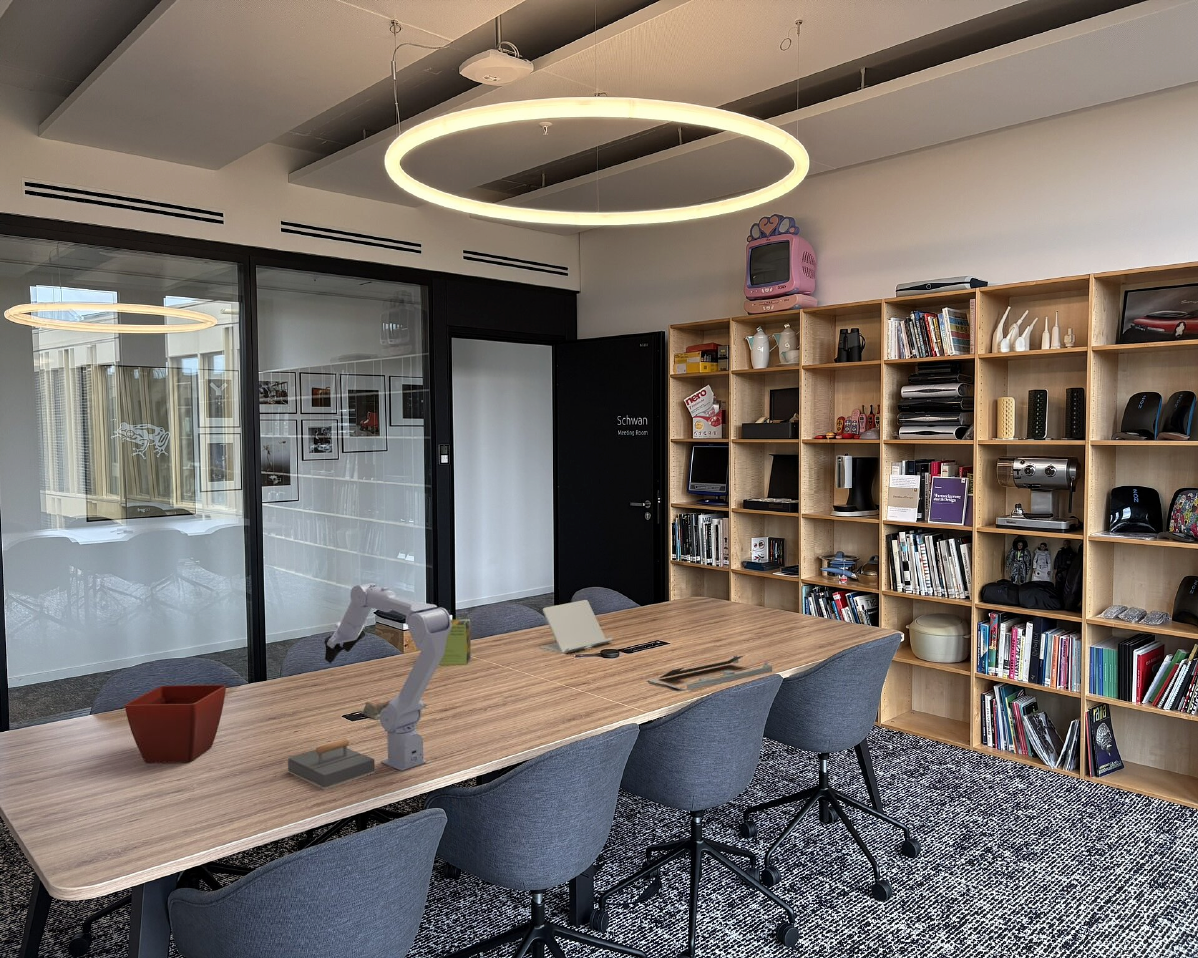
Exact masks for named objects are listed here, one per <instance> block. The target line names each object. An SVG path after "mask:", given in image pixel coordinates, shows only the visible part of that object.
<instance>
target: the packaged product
mask: <svg viewBox="0 0 1198 958" xmlns="http://www.w3.org/2000/svg"><path fill="white" fill-rule="evenodd" d="M398 695H399V694H396V695H391V696H387V697H382V698H378V699H372V700H368V701H366V702H365V706H364V707H363V710H360V715H363V714H364V715H363V716H365V717H367V718H370V717H371V718H370V719H372V720H375V721H380V720H379V719H380V713H381V711H382V709H383V708H385V707H387V705H388V703H389V702H390V701H392V700H393V699H394V698H395V697H397V696H398ZM422 703H423V705H424V706H423V708H422V709H425V708H427V703H425V702H422Z"/></svg>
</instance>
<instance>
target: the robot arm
mask: <svg viewBox="0 0 1198 958" xmlns="http://www.w3.org/2000/svg"><path fill="white" fill-rule="evenodd" d="M349 595H350V603H349V605H348V606H347V608H346V611H345V613H344V616H343V618H342V620H341V621H338V622H336V624H335V627H336V630H335V631H334V633H333V634H332V636H331V635H329V636H327V637H325V639H324V641H323V642H324V645H325V655H324V660H325V661H326V662H328V663H329V664H331V663H333V661H335V660H336V658H337V656H338V655H339V653H341V652H343V651H344V650H345V652H347V653H349V652H350V651H351V650H352V649H353V647H355V645H356V644H357V643H358V642H359V641H361V639H363V638H364V637H366V632H365V631H364V630H365V628H366V626H367V625H368V623H367V622H366V620H367V618H368V617H369V613H370V611H371V610H372V609H374V610H378V611H381V612H384V613H389V612H392V611H395V612H397V613H399V614H402V615H404V616H406V617H405V625H407V628H408V631H409V634H410V636H411V639H412V641H413V643H414V645H415V647H416V649H417V650H418V651H420V652H419V654H418V656H417V659H416V661H415V662H414V665H413V666H412V668H411V671H410V672H409V674H408V675H407V676H408V677H407V678H406V680H405V682H404V684H403V686H402V688H401V690H400V692H399V694H397V695H398V696H397V697H395V698H394V699H393V700H392V701H390V702H389V703H388V705H387V707H385V708H383V709H382V711H381V713H380V720H379V723H380V726H381V727H382V728H383V730H384V732H386V736H387V737H386V739H387V740H386V741H387V742H386V743H387V758H385V759H382V760H380V763H381V764H384V765H386V766H389V767H391V768H394V769H396V770H398V771H406V770H408V769H411V768H414V767H417V766H420V765H422V764H425V763H427V760H426V759H424V741H423V740H424V739H423V737H422V736H421V734H419V733H418V732H417V730H416V728H417V727H418V722H419V721H421V720H422V719H421V718H422V711H423V709H424V708H423V706H424V705H423V703H424V702H423V701H422V698H423V695H424V694H425V692H426V689H427V688H428V685H429V684H430V682H431V680H432V678H433V676H434V674H435V672H436V670H437V668H438V667H439V666H440V665H439V663H440V661H441V659H442V657H443V655H444V652H445V646H446V640H447V636H448V634H449V632H450V630H451V628H452V623H451V620H452V618H451V616H450V614H449V612H448V610H447V609H446V608H444V607H438V606H437V605H436V604H432V603H431V604H430V603H426V602H420V601H415V600H411V599H407V598H402V597H398V596H397V593H395V592H394V591H392V590H389V587H386V586H384V587H383V586H382V587H380V586H379V585H377V584H376V583H374V582H370V583H363V584H358V585H354V586H353V587H352V588H351V589H350V593H349ZM341 644H342V646H341Z"/></svg>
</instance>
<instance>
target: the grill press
mask: <svg viewBox="0 0 1198 958" xmlns="http://www.w3.org/2000/svg"><path fill="white" fill-rule="evenodd" d="M349 744H350V743H349V739H347V738H345V739H341V740H338V741H335V742H331V743H328V744H324V745H321V746H318V747H316V748H315V749H314V750H311V751H308V752H303V753H301V754H297V755H294V756H290V757H288V760H289V761H291V762H293V763H295V764H297V765H300V766H302V767H304V768H306V769H308V770H310V771H313V769H316V768H319V767H323V766H326V765H329V764H332V763H335V762H338V761H342V760H345V759H348V758H351V757H354V756H358V755H361V753H360V752H358V751H356V750H353V749H350V748H348V746H349ZM288 760H287V761H288Z"/></svg>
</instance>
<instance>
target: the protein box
mask: <svg viewBox="0 0 1198 958" xmlns="http://www.w3.org/2000/svg"><path fill="white" fill-rule="evenodd" d="M451 623H452V628H451V630H450V632H449V634H448V636H447V640H446V646H445V652H444V655H443V657H442V659H441V661H440V663H439V665H438V666H463V665H464V666H466V665H467V664H468V663H469V662H470V660H471V659H472V647H471V646H472V643H471V619H469V618H468V619H451Z"/></svg>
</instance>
